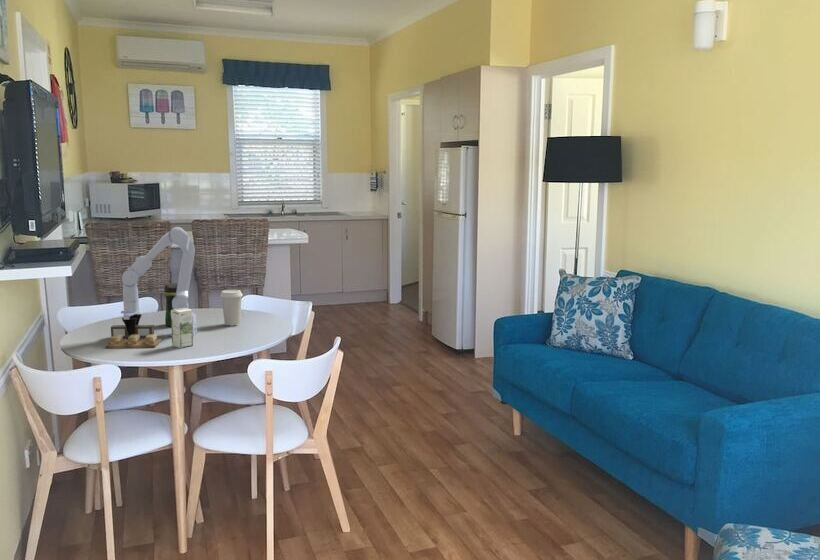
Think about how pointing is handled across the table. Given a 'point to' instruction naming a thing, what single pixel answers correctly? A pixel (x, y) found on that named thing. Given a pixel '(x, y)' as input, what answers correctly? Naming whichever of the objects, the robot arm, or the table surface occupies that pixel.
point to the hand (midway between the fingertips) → (132, 333)
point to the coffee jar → (169, 300)
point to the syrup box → (182, 327)
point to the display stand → (134, 341)
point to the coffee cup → (231, 306)
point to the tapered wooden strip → (139, 329)
